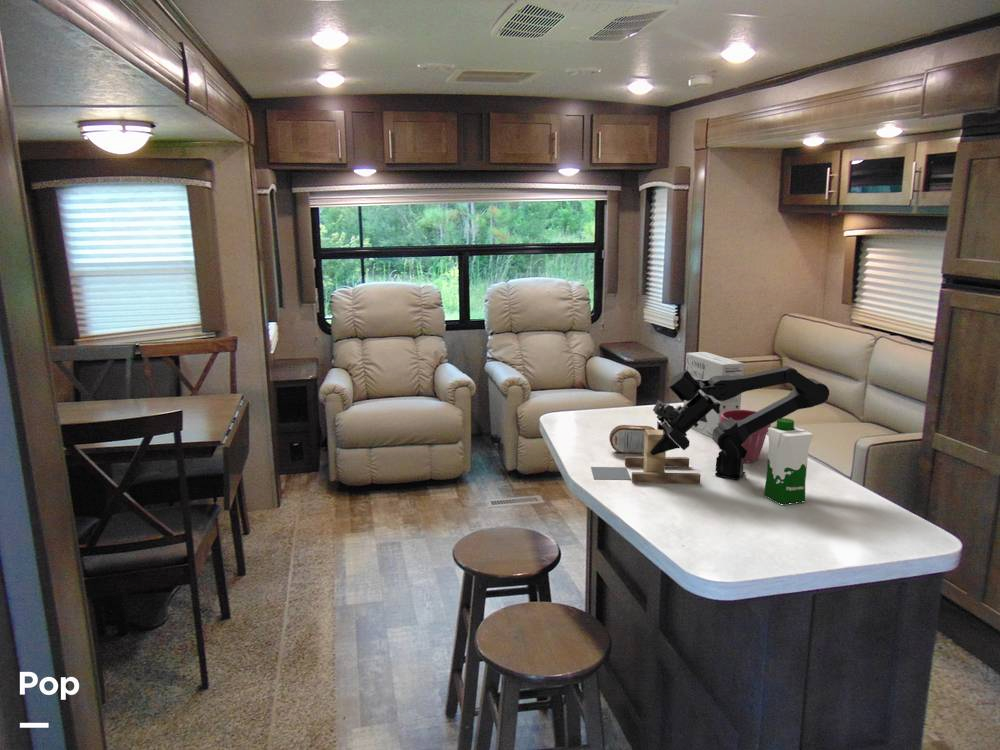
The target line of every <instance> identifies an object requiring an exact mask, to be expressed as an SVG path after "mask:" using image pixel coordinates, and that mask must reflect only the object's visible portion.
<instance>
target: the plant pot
mask: <svg viewBox="0 0 1000 750" xmlns="http://www.w3.org/2000/svg"><path fill="white" fill-rule="evenodd" d="M756 412H757V411H756V410H750V409H749V410H748V409H740V410H728V411H724V412H723V413H722V414H721V420H720V423H722V422H724V421H726V420H727V419H728V418H730V417H731V418H732V419H733V420H734V421H740V420H743V419H744V418H746V417H748V416H750V415H752V414H754V413H756ZM771 426H772V425H771V424H770V425H768V426H766V427H764V428H762V429H760V430H758V431H756V432H754V433H753V434H751V435H750V436H749V437H748V438H747V439H746V441H745V442H744V443H743V444H742V446H743V447H744V448H745V449H746V450H747V454H746V456H745V458H744V463H745V462H746V463H747V462H748V463H749V462H750V463H751V462H756V461H759V457H760V455H761V453H762V450H763V447H764V446H763V445H764V444H765V440H766V437H767V434H768V428H771Z"/></svg>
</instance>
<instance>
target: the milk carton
mask: <svg viewBox="0 0 1000 750" xmlns="http://www.w3.org/2000/svg"><path fill="white" fill-rule="evenodd" d="M767 434H768V435H767V436H768V454H767V455H768V456H767V466H766V467H767V468H766V478H765V487H764V492H763V496H764V495H765V496H764V497H766V496H767V497H766V498H768V497H769V498H768V499H770V498H771V499H772V500H771V499H770V500H771V501H773V500H774V501H773V502H775V501H776V502H775V503H777V502H778V503H780V504H789V503H796V502H802V501H805V502H806V480H807V479H806V478H807V468H808V459H809V450H810V446H811V442H812V440H813V438H814V435H815V434H814V433H812V432H809V431H807V430H806V429H803V428H800V427H797V426H796V425H795V420H794V419H790V418H785V417H783V418H780V419H777V421H776V426H772V427H770V428H768V432H767ZM778 503H777V504H778ZM780 504H779V505H780ZM789 505H790V504H789Z"/></svg>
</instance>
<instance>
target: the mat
mask: <svg viewBox="0 0 1000 750" xmlns="http://www.w3.org/2000/svg"><path fill="white" fill-rule="evenodd" d="M591 469H592V470H591ZM590 470H591V472H592V476H593V479H594V480H609V481H610V480H611V481H612V480H613V481H615V480H616V481H617V480H623V481H625V480H626V481H630V480H631V479H632V477H631V476H630V473H629V470H628V467H627V466H625V467H624V466H623V467H622V466H619V467H617V466H615V467H614V466H590Z"/></svg>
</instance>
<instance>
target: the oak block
mask: <svg viewBox="0 0 1000 750" xmlns="http://www.w3.org/2000/svg"><path fill="white" fill-rule="evenodd" d="M662 436H663V430H657V429H656V430H648V429H645V441H644V454H643V457H644V463H643V467H642V468H643V469H642V472H659V473H666V472H665V471H666V467H665V457H667V456H666V455H667V454H666V452H667V451H665V452H662V453H659V454H656V455H652V454H651V453H650V452H651V450H652V449H653V448H654V447H655V445H656V444H657V443H658V442H659V441H660V440H661V438H662Z"/></svg>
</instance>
